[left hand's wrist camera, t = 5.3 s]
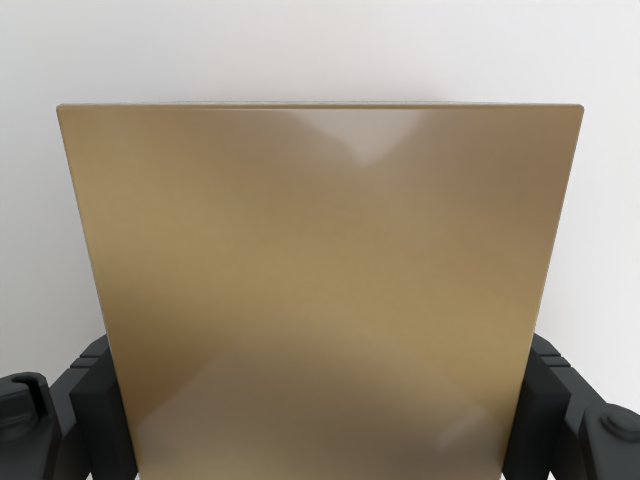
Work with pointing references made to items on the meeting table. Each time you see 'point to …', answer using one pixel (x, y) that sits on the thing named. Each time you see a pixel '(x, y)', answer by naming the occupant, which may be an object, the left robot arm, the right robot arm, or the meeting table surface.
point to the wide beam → (320, 279)
